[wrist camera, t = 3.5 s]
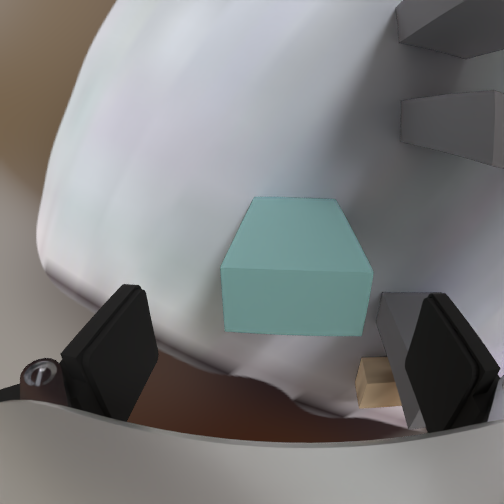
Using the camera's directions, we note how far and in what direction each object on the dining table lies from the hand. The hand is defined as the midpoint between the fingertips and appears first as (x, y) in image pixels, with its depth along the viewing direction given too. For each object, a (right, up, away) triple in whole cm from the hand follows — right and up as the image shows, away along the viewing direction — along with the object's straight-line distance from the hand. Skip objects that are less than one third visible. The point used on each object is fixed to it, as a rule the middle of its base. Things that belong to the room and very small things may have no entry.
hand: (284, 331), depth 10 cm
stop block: (+11, -7, +14) cm, 19 cm away
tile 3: (+10, +10, +6) cm, 16 cm away
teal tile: (+2, +5, +10) cm, 11 cm away
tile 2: (+10, +16, +4) cm, 20 cm away
